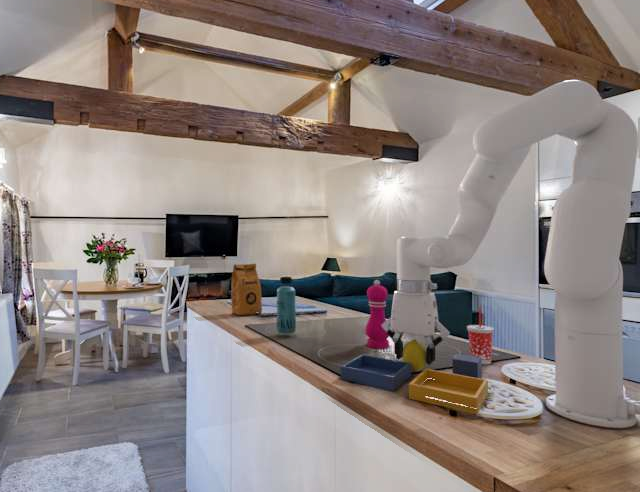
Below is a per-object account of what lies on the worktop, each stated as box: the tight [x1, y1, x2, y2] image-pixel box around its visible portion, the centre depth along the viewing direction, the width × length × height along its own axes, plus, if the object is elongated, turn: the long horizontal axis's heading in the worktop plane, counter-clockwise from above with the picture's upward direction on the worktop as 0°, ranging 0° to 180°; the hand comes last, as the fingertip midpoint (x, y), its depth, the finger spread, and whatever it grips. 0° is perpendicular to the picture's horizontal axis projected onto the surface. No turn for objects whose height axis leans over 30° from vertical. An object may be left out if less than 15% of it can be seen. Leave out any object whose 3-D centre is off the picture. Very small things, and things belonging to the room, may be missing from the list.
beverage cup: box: [466, 307, 495, 365], centre depth 106 cm, size 6×6×14 cm
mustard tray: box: [408, 368, 489, 415], centre depth 84 cm, size 12×12×3 cm
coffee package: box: [230, 263, 263, 316], centre depth 176 cm, size 10×12×22 cm
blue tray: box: [340, 353, 412, 392], centre depth 95 cm, size 12×12×3 cm
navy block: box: [452, 353, 483, 379], centre depth 93 cm, size 5×5×5 cm
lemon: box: [402, 339, 427, 373], centre depth 98 cm, size 6×6×8 cm
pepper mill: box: [364, 279, 390, 350], centre depth 122 cm, size 7×7×20 cm
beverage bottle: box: [276, 276, 297, 335], centre depth 136 cm, size 6×7×20 cm
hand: (414, 359), depth 98 cm, fingers open, 6 cm apart
